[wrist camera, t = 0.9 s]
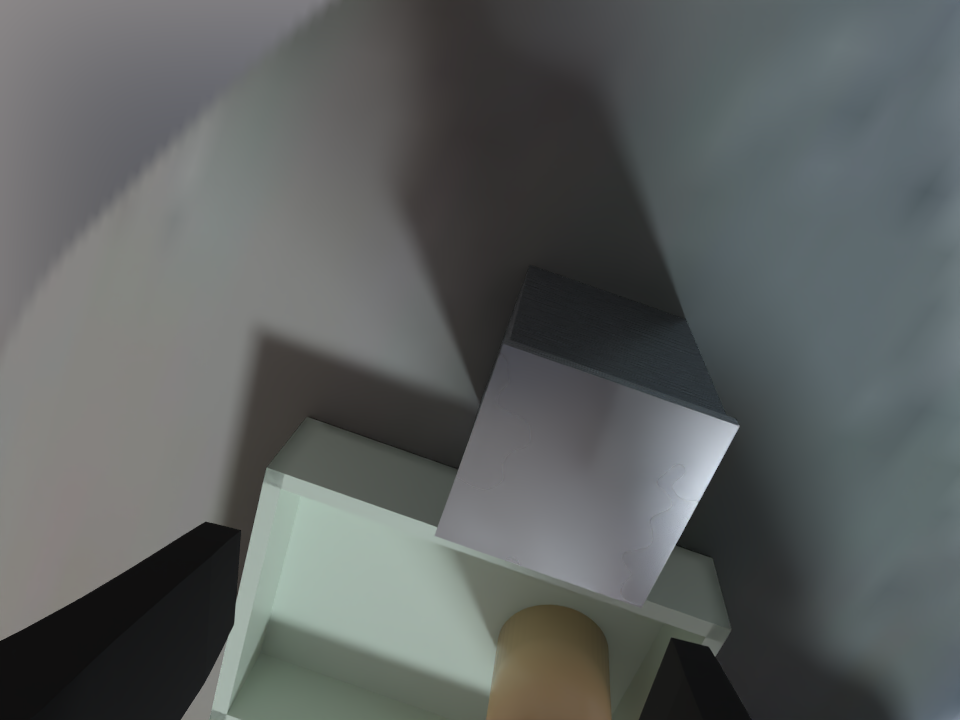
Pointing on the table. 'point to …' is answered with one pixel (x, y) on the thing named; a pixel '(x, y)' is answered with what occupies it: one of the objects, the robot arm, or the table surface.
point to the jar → (550, 667)
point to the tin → (588, 440)
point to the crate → (409, 597)
